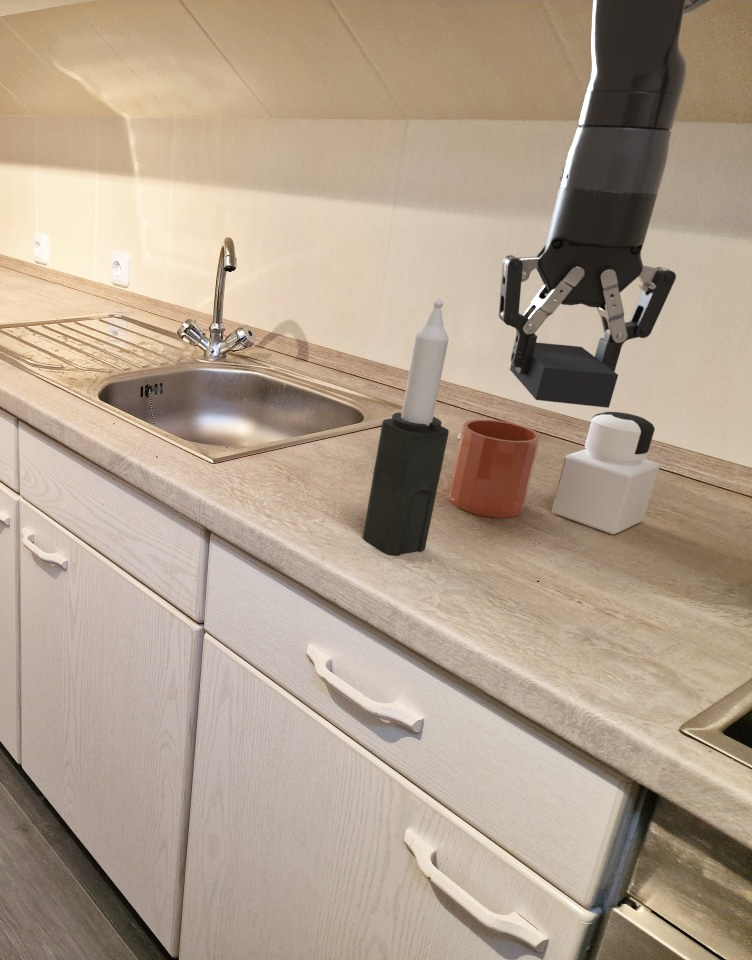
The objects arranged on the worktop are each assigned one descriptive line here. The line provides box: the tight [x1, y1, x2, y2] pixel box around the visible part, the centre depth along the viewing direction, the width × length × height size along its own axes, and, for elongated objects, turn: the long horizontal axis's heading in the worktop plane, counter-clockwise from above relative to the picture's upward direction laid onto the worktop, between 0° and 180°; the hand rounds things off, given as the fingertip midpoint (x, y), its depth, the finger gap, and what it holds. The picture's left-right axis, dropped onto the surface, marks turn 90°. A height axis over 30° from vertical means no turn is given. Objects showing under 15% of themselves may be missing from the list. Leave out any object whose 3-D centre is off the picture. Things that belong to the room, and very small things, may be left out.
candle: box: [362, 298, 450, 556], centre depth 83 cm, size 5×5×25 cm
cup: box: [448, 419, 542, 519], centre depth 97 cm, size 8×8×9 cm
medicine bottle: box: [551, 411, 660, 536], centre depth 94 cm, size 7×7×12 cm
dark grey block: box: [509, 341, 619, 409], centre depth 79 cm, size 6×11×3 cm, turn 168°
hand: (559, 375), depth 79 cm, fingers closed on dark grey block, 6 cm apart
